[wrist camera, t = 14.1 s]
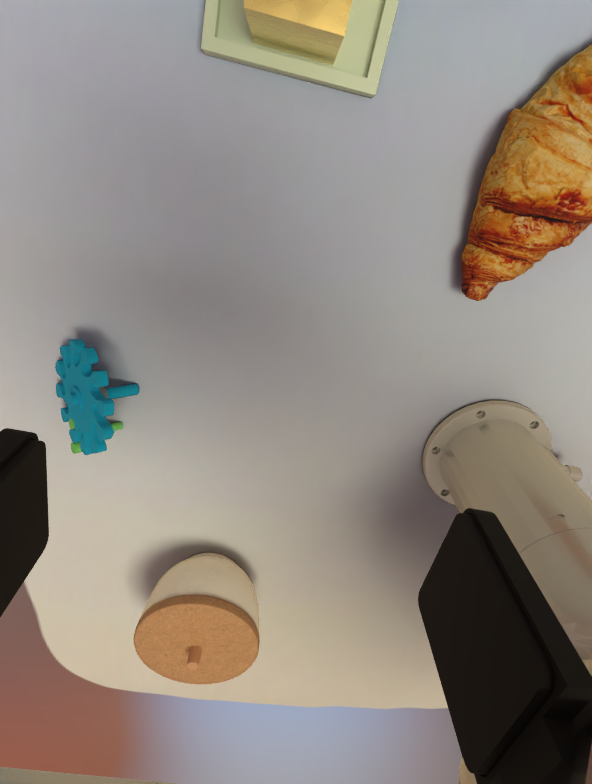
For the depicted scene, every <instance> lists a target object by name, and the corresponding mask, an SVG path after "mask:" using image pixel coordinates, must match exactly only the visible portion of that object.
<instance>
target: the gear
mask: <svg viewBox="0 0 592 784" xmlns="http://www.w3.org/2000/svg"><path fill="white" fill-rule="evenodd" d="M60 352H61V356H62V358H63V360H58V361H57V363H56V367H55V368H56V371H57V373H58V374H59V376H60V377H61V379H62V382H63V383H57V385H56V393H57V396H58V397H61V398H63V399H64V401H65V402H66V404H67V406H68V407H67V408H61V415H62V419H63V421H64V422H68V421H69V425H70V428H71V429H70V431H69V434H70V437H71V439H72V441H73V442H72V443H71V449H72V452H73V453H74V454H75V453H79V452H83V453H84V454H85V455H88V454H92V453H98V452H102V451H106V450H107V447H106V443H105V441H104V440H106V439H110V438H112V436H113V433H114V431H115V430H119V429H122V423H121V422H117V423H112V424H109V422H108V421H107V419H106V417H105V416H109V415H113V413H114V402H113V400H112V399H115V398H120V397H126V396H132V395H137V394H138V393H139V388H138V386H137V384H131V385H125V386H118V387H112V388H106V389H105V386H108V385H109V381H108V376H107V372H106V370H101V371H94V372H92V368H91V366H92V364H96V363H97V362H98V355H97V353H96V351H95V349H94V348H86V344H85V343H84V341H82V340H81V339H76V340H70V342H69V345H66V346H61V347H60Z"/></svg>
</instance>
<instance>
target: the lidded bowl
mask: <svg viewBox="0 0 592 784" xmlns="http://www.w3.org/2000/svg"><path fill="white" fill-rule="evenodd" d="M134 646H135V649H136V652H137V654H138V656H139V657H140V659H141V660H142V661H143V662H144V664H146V665H147V666H148V667H149V668H150V669H152V670H153V671H155V672H156V673H158V674H160V675H162V676H164V677H166V678H169V679H172V680H175V681H179V682H184V683H189V684H212V683H219V682H223V681H227V680H230V679H232V678H235V677H237V676H239V675H241V674H242V673H243V672H245V671H246V670H247V669H248V668H249V667H250V666H251V665H252V664H253V662H254V661H255V659H256V657H257V655H258V650H259V608H258V600H257V595H256V592H255V589H254V587H253V584H252V582H251V581H250V579H249V577H248V576H247V575H246V573H245V572H244V571H243V570H242V569H241V568H240V567H238V565H237V564H236V563H235V562H234V561H233V560H231V559H230V558H228V557H226V556H224V555H221V554H217V553H200V554H196V555H194V556H192V557H190V558H188V559H186V560H183V561H181V562H179V563H178V564H176V565H175V566H173V567H172V568H171V569H169V570H168V571H167V572H166V573H165V574H164V575H163V576H162V577H161V579H160V580H159V581H158V583H157V584H156V586H155V587H154V589H153V591H152V593H151V595H150V597H149V599H148V601H147V603H146V606H145V608H144V611H143V614H142V616H141V618H140V620H139V622H138V624H137V627H136V630H135V634H134Z"/></svg>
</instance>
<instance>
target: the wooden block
mask: <svg viewBox="0 0 592 784" xmlns="http://www.w3.org/2000/svg"><path fill="white" fill-rule="evenodd" d="M351 4H352V0H244V11H245V14H246V17H247V21H248V24H249V28H250V31H251V34H252V38H253V41H254V44H257V45H261V46H264V47H268V48H272V49H275V50H279V51H282V52H286V53H289V54H293V55H297V56H300V57H304V58H307V59H311V60H315V61H318V62H322V63H325V64H329V65H333V64H334V62H335V59H336V57H337V54H338V52H339V49H340V46H341V44H342V41H343V39H344V36H345V31H346V27H347V22H348V18H349V13H350V8H351Z"/></svg>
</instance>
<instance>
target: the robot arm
mask: <svg viewBox="0 0 592 784" xmlns="http://www.w3.org/2000/svg"><path fill="white" fill-rule="evenodd" d="M551 452H552V441H551V436H550V433H549V430H548V428H547V427H546V425H545V424H544V422H543V421H542V420H541V419H540V418H539V417H538V416H537V415H536V414H535V413H534V412H532V411H531V410H530V409H528V408H527V407H524V406H522V405H520V404H517V403H513V402H508V401H485V402H479V403H476V404H473V405H469V406H467V407H464V408H462V409H460V410H458V411H456V412H455V413H453V414H452V415H450V416H449V417H447V418H446V419H445V420H444V421H443V422H442V423H441V424H440V425H439V426H438V427H437V428H436V429H435V430H434V432H433V433H432V434H431V436H430V437H429V439H428V441H427V444H426V446H425V449H424V453H423V470H424V475H425V477H426V479H427V482H428V484H429V486H430V487H431V489H432V490H433V491H434V493H435V494H436V495H437V496H439V497H440V498H441V499H443V500H444V501H446V502H448V503H450V504H453V505H455V506H457V508H458V510H459V512H460V513H459V514H457V515H456V517H455V519H454V521H453V523H452V525H451V527H450V529H449V531H448V533H447V535H446V537H445V539H444V541H443V543H442V546H441V548H440V550H439V552H438V554H437V556H436V558H435V560H434V562H433V564H432V566H431V568H430V570H429V572H428V574H427V576H426V578H425V581H424V583H423V585H422V587H421V589H420V591H419V596H418V603H419V608H420V612H421V615H422V619H423V622H424V626H425V629H426V633H427V636H428V639H429V643H430V646H431V650H432V653H433V657H434V660H435V663H436V667H437V670H438V674H439V677H440V681H441V684H442V688H443V691H444V694H445V698H446V701H447V705H448V708H449V711H450V715H451V718H452V722H453V725H454V728H455V732H456V736H457V739H458V743H459V746H460V749H461V753H462V756H463V757H462V760H461V764H460V769H459V784H592V501H591V499H590V498H589V497H588V496H587V495H586V494H585V493H584V492H583V491H582V490H581V488H580V487H579V486H578V485H577V484H576V483H575V482H574V481H579V480H580V479H581V478H582V470H581V469H580V468H578V467H573V466H568V465H565V466H564V465H562V463H561V462H560V461H559V460H558V459H557V458H556V457H555V456H554V455H553V454H552V453H551ZM48 536H49V527H48V498H47V468H46V446H45V443H44V442H43V441H39V440H38V436H37V434H35V433H32V432H26V431H20V430H15V429H9V428H7V429H3V430H2V431H0V617H1V615H2V614H3V612H4V611H5V609H6V608H7V606H8V604H9V603H10V602H11V600H12V598H13V597H14V595H15V594H16V592H17V590H18V589H19V588H20V586H21V585H22V583H23V582H24V580H25V579H26V577H27V576H28V574H29V572H30V571H31V569H32V568H33V566H34V565H35V563H36V562H37V560H38V559H39V557H40V556H41V554H42V553H43V551H44V549H45V547H46V544H47V541H48ZM0 784H174V783H163V782H153V781H143V780H132V779H122V778H110V777H100V776H89V775H78V774H67V773H57V772H47V771H36V770H25V769H14V768H3V767H0Z"/></svg>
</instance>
